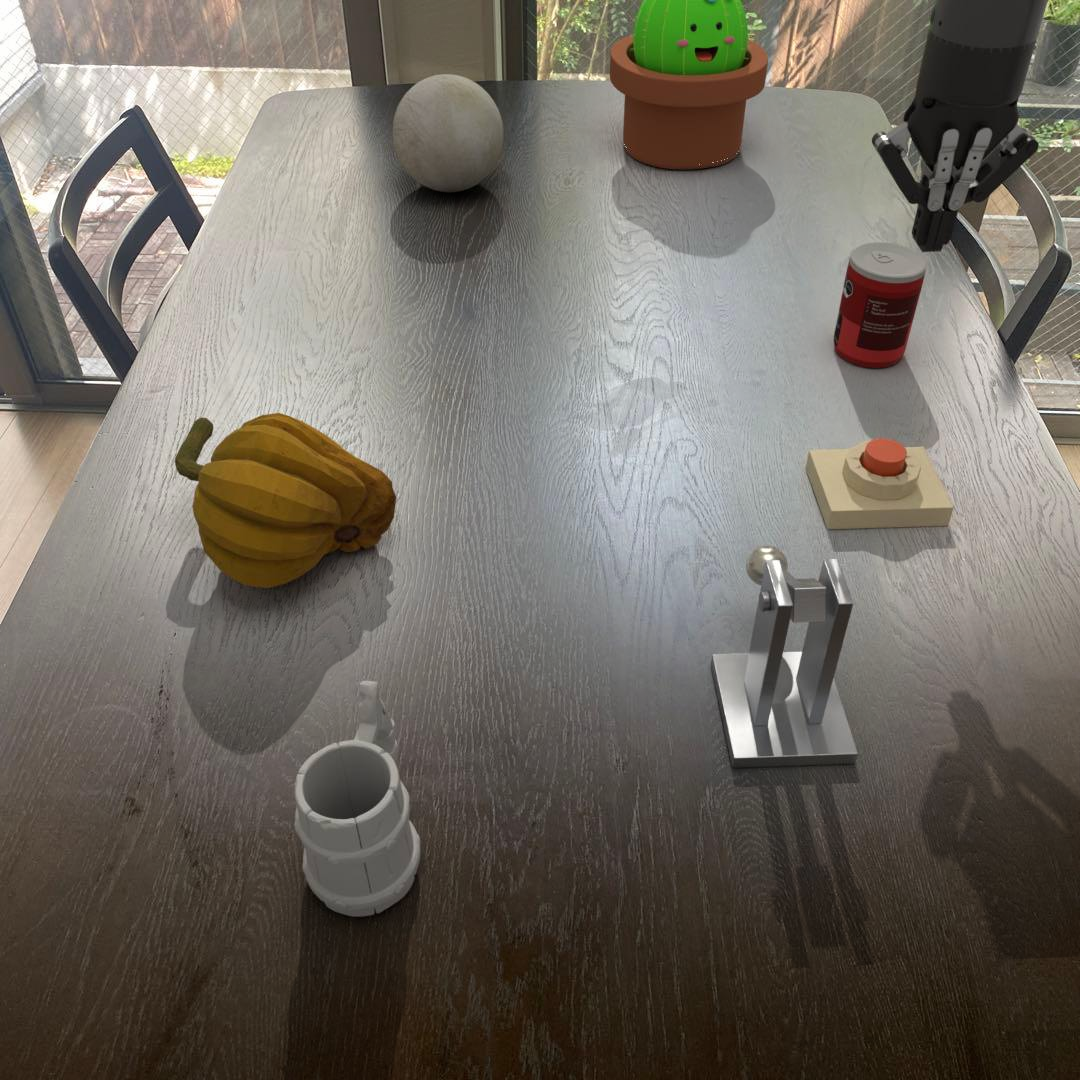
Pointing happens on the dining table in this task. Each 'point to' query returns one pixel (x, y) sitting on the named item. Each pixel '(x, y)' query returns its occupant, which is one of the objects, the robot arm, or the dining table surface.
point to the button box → (877, 491)
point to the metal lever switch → (787, 682)
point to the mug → (357, 817)
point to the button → (884, 457)
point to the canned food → (878, 304)
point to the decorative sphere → (448, 133)
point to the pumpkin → (281, 498)
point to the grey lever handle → (791, 586)
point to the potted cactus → (687, 82)
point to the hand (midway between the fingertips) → (928, 247)
